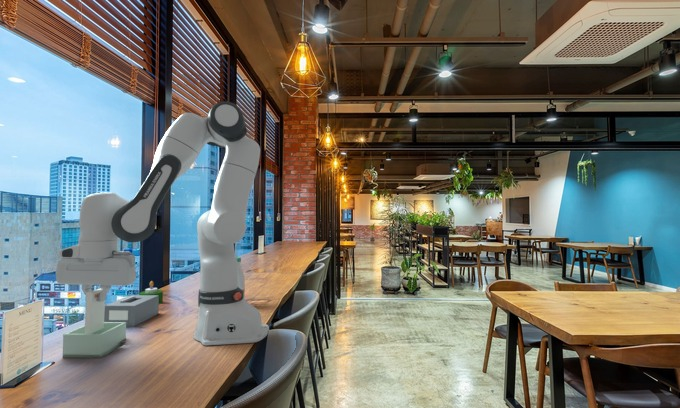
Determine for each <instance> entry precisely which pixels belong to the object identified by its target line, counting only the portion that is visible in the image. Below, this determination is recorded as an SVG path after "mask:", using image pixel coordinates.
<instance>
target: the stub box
mask: <svg viewBox="0 0 680 408" xmlns="http://www.w3.org/2000/svg"><path fill="white" fill-rule="evenodd" d="M84 333H85V324H84V325H82V326H79V327H77V328H75V329H72V330H71V331H67V332H66V333H64V334H62V358H66V359H67V358H69V359H71V358H72V359H102V358H103V357H105V356H107V355H108V354H110V353H112V352H113V351H115V350H117V349H118V348H120V347H122V346H124V345H126V341H124V340H125V339H126V338H127V326H126V322H104V328H102V329H100V330H98V331H96V332H94V333H91V334H84Z"/></svg>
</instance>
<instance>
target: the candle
mask: <svg viewBox="0 0 680 408" xmlns="http://www.w3.org/2000/svg"><path fill="white" fill-rule="evenodd" d="M154 283H155V282H154V281H153V280H151V281H150V282H149V284H148V285H149V287H148V288H145V289H144V290H143V291H141V292H139V295H159V305H163V303H164V302H163V298H164V297H163V296H164V293H163V292H164V291H163V290H162V289H158V287H154Z"/></svg>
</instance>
